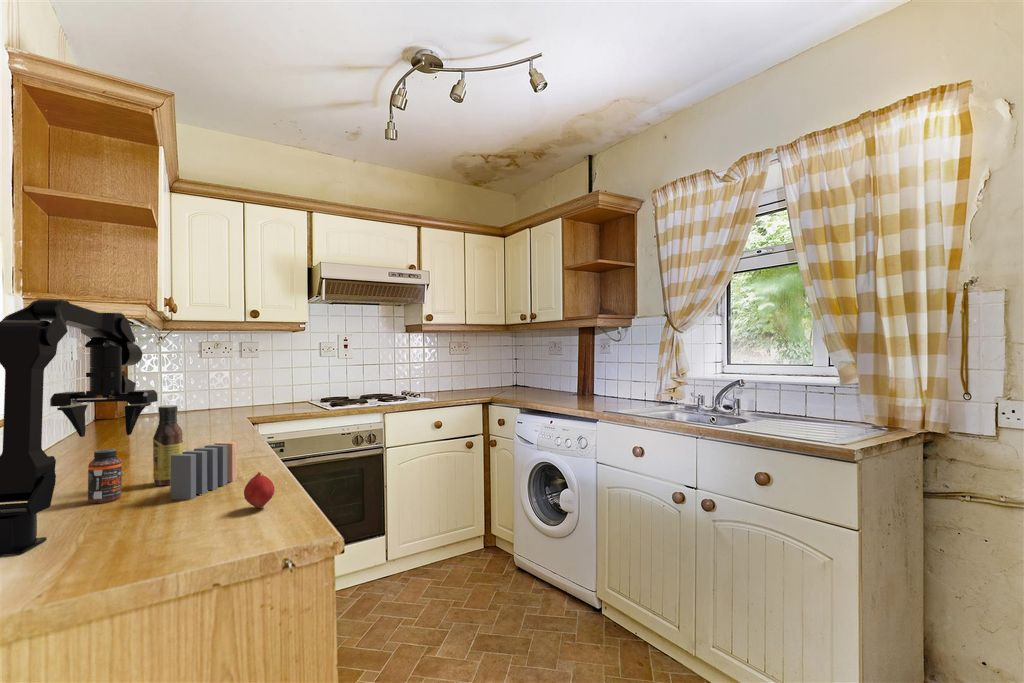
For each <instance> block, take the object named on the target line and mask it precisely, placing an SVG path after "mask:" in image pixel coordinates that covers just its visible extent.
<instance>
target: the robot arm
mask: <svg viewBox="0 0 1024 683" xmlns="http://www.w3.org/2000/svg"><path fill="white" fill-rule="evenodd" d="M67 326H68V327H72V328H75V329H79V330H80V333H81V334H82V335H84V336H86V337H88V338H89V339H90V340H89V341H87V342H86V343H85V344H84V347H85V348H89V371H88V372H86V373H85V378H89V390H86V392H85V391H63V392H56V393H53V394H52V395H51V397H50V399H49V402H50V403H49V406H50V407H57V408H56V409H57V411H61V412H62V413H63V414H64V415H65V416H66V418H67V419H68V420H69V421H70V423H71V425H72V426H73V427H74V429H75V431H76V433H77V434H78V436H79V437H80V438H83V437H85V436H86V431H87V430H86V411H87V408H88V406H89V404H83V403H110V402H111V403H114V402H115V403H116V402H127V403H128V404H129V405H124V419H125V421H124V422H125V423H124V424H125V432H126V435H127V436H130V435H132V433H133V430H134V428H135V427H136V426H135V425H136V424H137V421H138V418H139V416H140V415H141V413H142V412H143V410H144V409H145V408H146V407H149V406H152V403H156V402H158V399H159V398H158V393H157V391H156V390H155V389H139V390H135V389H136V385H137V383H136V382H135V381H133V380H131V379H129V378H127V377H126V371H125V370H123V367H130V366H135V365H137V364H138V363H140V361H141V360H142V359H143V351H142V349H141V347H140V346H139V345H137V344H136V343H135V342H136V338H135V336H134V333H133V330H132V327H131V324H130V323H129V320H128V318H127V317H126V316H125V315H124V314H123V313H122V312H98V311H95V310H92V309H89V308H86V307H82V306H79V305H76V304H73V303H70V301H67V300H64V299H48V298H45V299H42V298H41V299H39V298H38V299H36V300H33V301H32V302H31V303H30V304H29V305H27V306H26V307H24V308H20V309H19V310H17V311H14V312H12V313H9V314H8V315H6V316H5V317H3V319H1V320H0V365H1V367H3V369H4V393H3V394H4V395H3V396H4V399H3V402H4V403H3V425H2V426H3V427H2V430H3V431H2V452H1V453H0V556H11V555H20V554H24V553H26V552H28V551H29V550H31V549H33V548H35V547H36V546H38V545H40V544H43V543H44V542H45V541H47V537H46V536H43V537H37V536H38V534H37V533H38V530H37V528H38V526H37V525H38V524H37V523H38V520H37V519H38V517H37V516H38V515H37V514H39V513H40V512H42V511H44V510H47V509H49V508H50V507H51V505H52V504H51V503H52V500H53V495H54V491H55V486H56V478H57V475H56V465H57V461H56V460H57V459H56V457H55V456H54V455H47V453H46V452H45V451H44V450H43V449H42V448H43V446H42V442H43V440H42V439H43V437H42V436H43V414H44V413H43V410H44V409H43V408H44V405H43V404H44V379H45V376H44V375H45V368H47V366H48V365H49V363H51V362H52V360H53V359H54V358H55V356H56V355H57V351H58V344H59V342H60V341H61V340H62V339H63V338H64V337H65V335H67V333H68V327H67ZM97 396H102V397H97Z"/></svg>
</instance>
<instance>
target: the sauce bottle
mask: <svg viewBox="0 0 1024 683" xmlns="http://www.w3.org/2000/svg"><path fill="white" fill-rule="evenodd" d="M178 407H179V406H178V405H177V404H165V405H159V406H158V410H157V411H158V416H159V418H158V425H157V427H156V430H155V433H154V436H153V437H152V444H153V445H152V457H153V458H152V461H153V464H152V465H153V466H152V473H153V474H152V476H153V477H152V478H153V483H154V485H156V486H171V455H174V454H183V452H184V444H183V442H184V441H183V430H182V428H181V426H179V423H178V415H177V414H178V411H179V410H178V409H179V408H178Z"/></svg>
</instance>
